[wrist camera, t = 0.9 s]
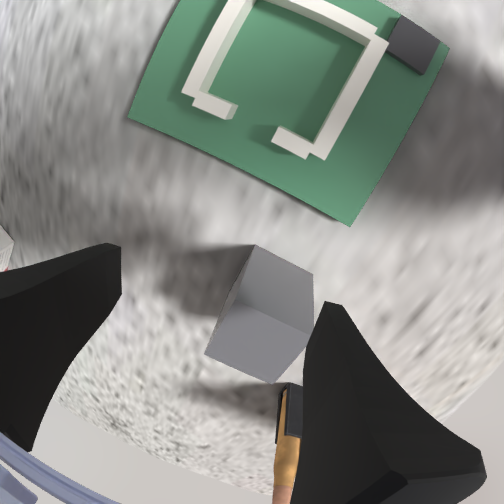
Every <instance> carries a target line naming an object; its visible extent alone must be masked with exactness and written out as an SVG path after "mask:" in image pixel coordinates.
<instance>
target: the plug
mask: <svg viewBox="0 0 504 504" xmlns="http://www.w3.org/2000/svg"><path fill="white" fill-rule="evenodd" d="M313 329H314V298H313V274H311V273H309V272H307V271H305V270H304V269H302V268H300V267H298V266H296V265H294V264H292V263H290V262H288V261H286V260H284V259H282V258H280V257H278V256H276V255H274V254H273V253H271V252H269V251H267V250H265V249H263V248H261V247H259V246H257V245H255V246H254V248H253V250H252V252H251V254H250V255H249V257H248V259H247V261H246V263H245V265H244V266H243V268H242V270H241V272H240V274H239V276H238V277H237V279H236V281H235V283H234V285H233V287H232V288H231V290H230V292H229V294H228V297H227V299H226V301H225V304H224V306H223V309H222V311H221V314H220V316H219V318H218V321H217V323H216V326H215V328H214V331H213V333H212V335H211V338H210V340H209V343H208V345H207V348H206V350H205V352H204V354H205V355H207V356H209V357H211V358H213V359H215V360H217V361H219V362H222V363H224V364H226V365H228V366H230V367H233V368H235V369H237V370H239V371H242V372H244V373H246V374H248V375H251V376H253V377H255V378H258V379H260V380H262V381H265V382H267V383H270V384H272V385H273V384H274V383H275V382H276V381H277V380H278V378H279V377H280V376H281V375H282V374H283V373H284V372H285V370H286V369H287V368H288V367H289V366H290V365H291V364H292V362H293V361H294V360H295V359H296V358H297V357H298V355H299V354H300V353H301V352H302V351H303V350H304V348H305V347H306V346H307V343H308V341H309V339H310V336H311V334H312V331H313Z"/></svg>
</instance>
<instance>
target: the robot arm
mask: <svg viewBox="0 0 504 504" xmlns="http://www.w3.org/2000/svg"><path fill="white" fill-rule="evenodd" d="M121 295H122V286H121V247H120V246H116V245H113V244H109V243H104V244H99V245H95V246H92V247H88V248H85V249H82V250H79V251H76V252H73V253H69V254H66V255H63V256H60V257H57V258H54V259H51V260H47V261H44V262H40V263H37V264H34V265H30V266H26V267H22V268H18V269H13V270H8V271H3V272H0V459H1V460H2V461H4V462H5V463H6V464H7V465H9V466H10V467H12V468H13V469H14V470H15V471H17V472H18V473H20V474H21V475H22V476H24V477H25V478H26V479H28V480H29V481H31V482H32V483H34V484H35V485H37V486H38V487H40V488H41V489H43V490H44V491H46V492H48V493H49V494H51V495H52V496H54V497H56V498H57V499H59V500H61V501H62V502H64V503H66V504H120V503H118V502H115V501H113V500H111V499H109V498H106V497H104V496H102V495H100V494H98V493H96V492H94V491H92V490H90V489H88V488H86V487H84V486H82V485H80V484H78V483H77V482H75V481H73V480H71V479H69V478H68V477H66V476H64V475H62V474H61V473H59V472H57V471H56V470H54V469H52V468H51V467H49V466H47V465H46V464H44V463H43V462H41V461H40V460H38V459H37V458H35V457H34V456H32V455H31V454H29V453H28V452H30V451H32V448H33V444H34V441H35V438H36V435H37V432H38V429H39V427H40V424H41V421H42V419H43V417H44V414H45V412H46V410H47V407H48V405H49V402H50V400H51V399H52V397H53V395H54V393H55V391H56V389H57V387H58V385H59V383H60V381H61V379H62V378H63V376H64V374H65V372H66V371H67V369H68V367H69V366H70V364H71V363H72V361H73V360H74V358H75V357H76V355H77V354H78V353H79V352H80V350H81V349H82V348H83V347H84V345H85V344H86V343H87V342H88V340H89V339H90V338H91V337H92V336H93V334H94V333H95V332H96V331H97V329H98V328H99V327H100V326H101V324H102V323H103V322H104V321H105V320H106V318H107V317H108V316H109V314H110V313H111V311H112V310H113V308H114V306H115V305H116V303H117V301H118V300H119V298H120V296H121ZM486 478H487V475H486V471H485V466H484V463H483V459H482V456H481V451H480V450H479V449H478V448H476V447H474V446H473V445H471V444H470V443H468V442H467V441H465V440H463V439H462V438H460V437H458V436H457V435H456V434H454V433H453V432H451V431H450V430H449V429H447V428H446V427H444V426H443V425H442V424H441V423H439V422H438V421H437V420H436V419H434V418H433V417H432V416H431V415H430V414H429V413H427V412H426V411H425V410H424V409H423V408H422V407H421V406H420V405H419V404H418V403H417V402H416V401H414V400H413V399H412V398H411V397H410V396H409V395H408V394H407V393H406V392H405V390H404V389H403V388H402V387H401V386H400V385H399V384H398V383H397V382H396V380H395V379H394V378H393V377H392V376H391V375H390V373H389V372H388V371H387V370H386V368H385V367H384V366H383V364H382V363H381V362H380V361H379V359H378V358H377V357H376V355H375V354H374V352H373V351H372V350H371V348H370V347H369V345H368V344H367V342H366V341H365V339H364V338H363V336H362V335H361V333H360V332H359V330H358V329H357V327H356V325H355V324H354V322H353V321H352V319H351V318H350V316H349V314H348V313H347V311H346V310H345V308H344V307H343V306H342V305H339V304H335V303H331V302H327V301H325V302H324V304H323V307H322V309H321V312H320V314H319V317H318V319H317V322H316V324H315V327H314V329H313V331H312V334H311V336H310V339H309V341H308V343H307V346H306V352H305V360H304V368H303V428H302V440H301V447H300V453H299V460H298V466H297V471H296V477H295V482H294V487H293V491H292V496H291V500H290V504H457V503H459V502H461V501H462V500H464V499H465V498H467V497H468V496H470V495H471V494H473V493H474V492H475V491H477V490H478V489H479V488H480V487H481V486H482V485H483V484H484V482H485V480H486ZM37 500H38V498H37V496H36V495H35V494H34V493H32V492H31V491H30V490H28V489H27V488H26V487H25V486H24V485H22V484H21V483H20V482H19V481H18V480H17V479H16V478H15V477H14V476H12V474H11V473H10V472H9V471H8V470H6V469H5V468H4V467H3V466H2V465H1V464H0V504H35V503H36V501H37Z"/></svg>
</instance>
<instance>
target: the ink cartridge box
mask: <svg viewBox="0 0 504 504" xmlns="http://www.w3.org/2000/svg"><path fill="white" fill-rule="evenodd" d="M13 246H14V241H13V240H12V238H11V237H10V236H9V235H8V234H7V232H6V231H5V230H4V229H3V228H2V226H1V225H0V272H3V271H7V268H8V264H9V260H10V257H11V253H12V250H13Z"/></svg>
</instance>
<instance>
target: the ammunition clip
mask: <svg viewBox="0 0 504 504" xmlns="http://www.w3.org/2000/svg"><path fill="white" fill-rule="evenodd" d="M302 428H303V386H300V385H297V384H294V383H288V384H287V385H286V386H285V387H284V389H283V390H282V391H281V392H280V394H279V399H278V413H277V426H276V438H275V444H277V447H276V454H275V461H274V490H273V502H272V504H289V503H290V499H291V493H292V489H293V483H294V478H295V476H296V471H297V466H298V460H299V453H300V447H301V440H302Z"/></svg>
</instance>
